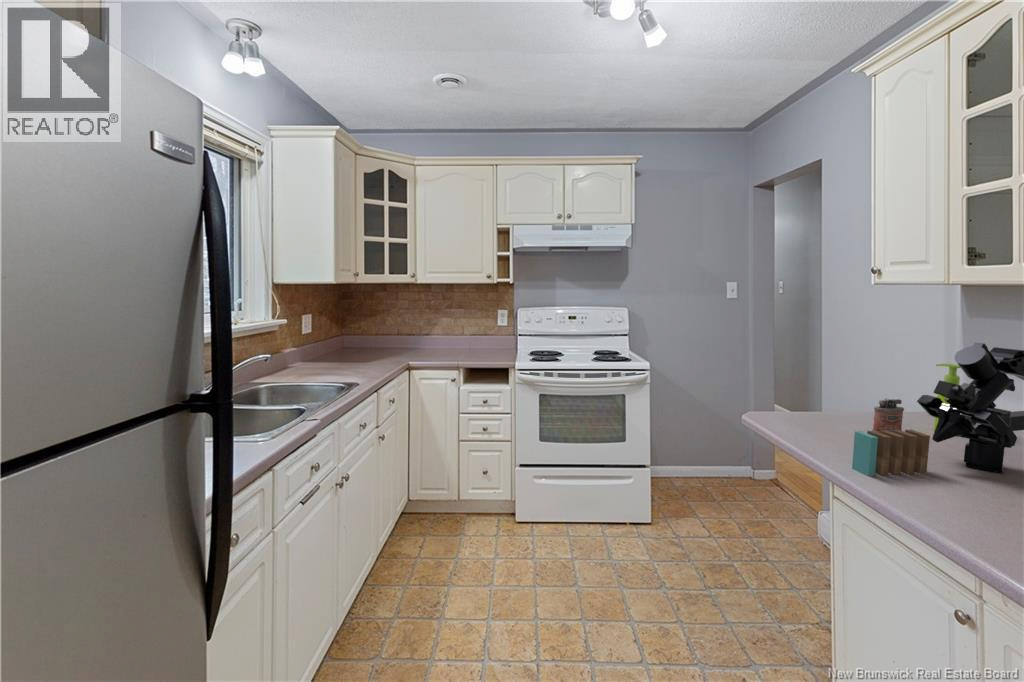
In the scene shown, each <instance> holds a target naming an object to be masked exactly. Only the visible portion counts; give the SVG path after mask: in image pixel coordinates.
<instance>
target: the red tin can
mask: <svg viewBox="0 0 1024 682" xmlns="http://www.w3.org/2000/svg"><path fill="white" fill-rule="evenodd" d="M902 402H903V401H902V400H901V399H900V398H892V399H891V398H886V397H885V398H884V399H879V400H878V405H879V406H874V407H873V410H874V416H873V428H872V430H871V431H876V432H879V433H880V431H881V430H887V431H890V432H893V430H901V431H903V430H902V426H903V414H904V413H903V412H904V411H905V408H904V407H902V406H898V405H902Z"/></svg>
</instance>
